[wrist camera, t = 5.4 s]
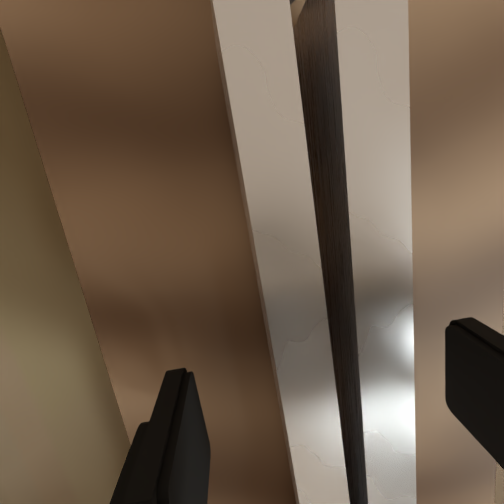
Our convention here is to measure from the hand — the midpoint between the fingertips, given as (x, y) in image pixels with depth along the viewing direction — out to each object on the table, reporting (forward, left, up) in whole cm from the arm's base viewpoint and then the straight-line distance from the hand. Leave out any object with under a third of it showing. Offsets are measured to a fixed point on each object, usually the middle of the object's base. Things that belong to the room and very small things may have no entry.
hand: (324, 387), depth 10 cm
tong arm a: (-1, 0, -1) cm, 2 cm away
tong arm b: (+1, 0, -1) cm, 2 cm away
